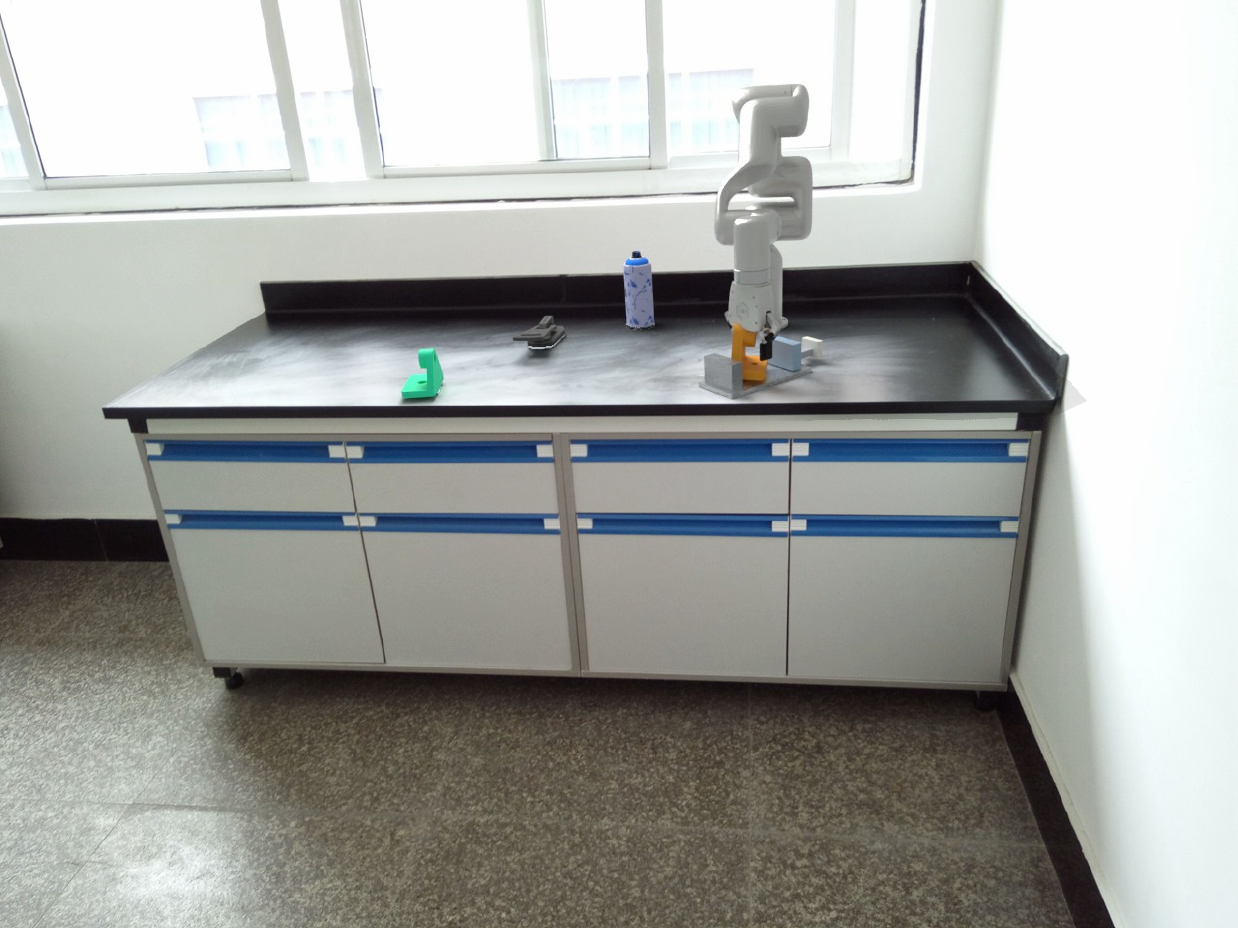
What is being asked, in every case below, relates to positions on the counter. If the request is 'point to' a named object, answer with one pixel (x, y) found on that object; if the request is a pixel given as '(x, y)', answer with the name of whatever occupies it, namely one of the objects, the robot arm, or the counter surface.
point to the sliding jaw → (794, 352)
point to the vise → (741, 376)
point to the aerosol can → (638, 291)
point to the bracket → (751, 364)
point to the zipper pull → (542, 333)
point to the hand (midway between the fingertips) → (752, 354)
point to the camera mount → (424, 377)
